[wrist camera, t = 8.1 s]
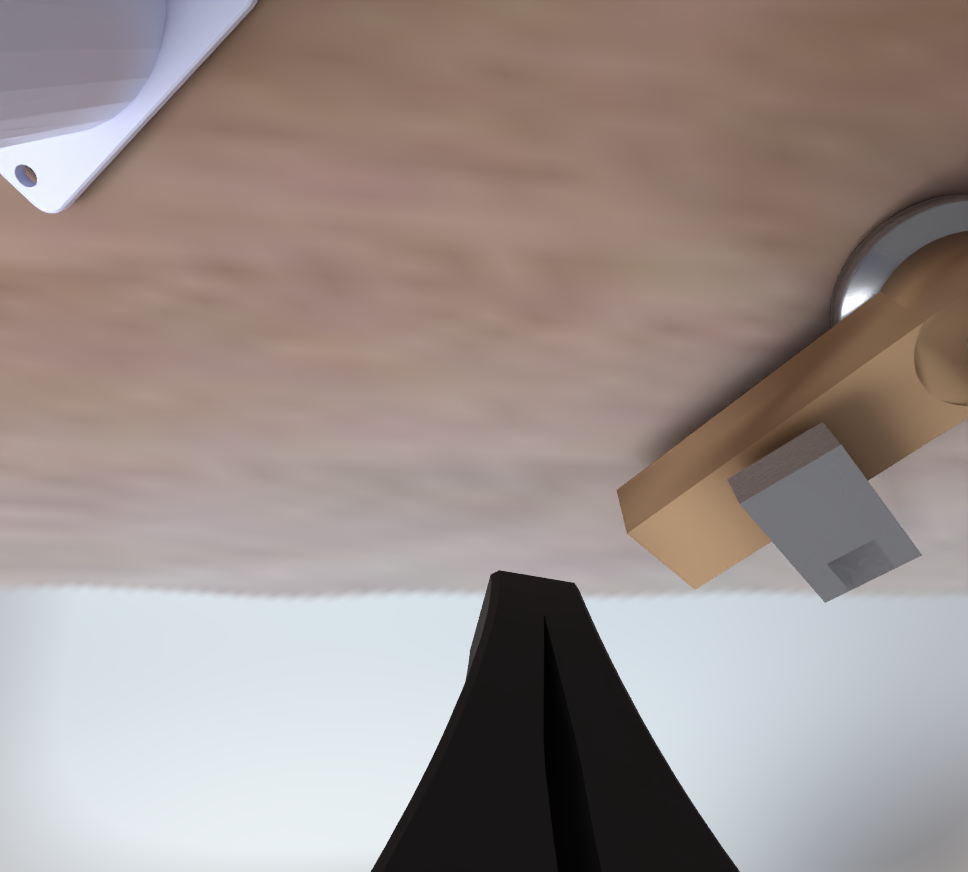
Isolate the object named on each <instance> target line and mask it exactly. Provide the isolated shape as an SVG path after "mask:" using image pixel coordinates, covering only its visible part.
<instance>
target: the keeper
mask: <svg viewBox="0 0 968 872" xmlns="http://www.w3.org/2000/svg"><path fill="white" fill-rule="evenodd" d="M727 480H728V482H729V484H730V486H731V488H732V490H733V492H734V494H735V496H736V498H737V500H738V502H739V504H740V505H741V506H742V507H743V509H744V510H745V511H746V512H747V513H748V514H749V516H750V517H751V518H752V519H753V520H754V521H755V522H756V524H757V525H758V526H759V527H760V528H761V529H762V530H763V532H764V533H765V534H766V535H767V536H768V537H769V539H770V540H771V541H772V542H773V543H774V544H775V545H776V547H777V548H778V549H779V550H780V551H781V552H782V554H783V555H784V556H785V557H786V558H787V559H788V560H789V562H790V563H791V564H792V565H793V566H794V567H795V568H796V570H797V571H798V572H799V573H800V574H801V575H802V577H803V578H804V579H805V580H806V581H807V582H808V583H809V585H810V586H811V587H812V588H813V589H814V590H815V592H816V593H817V594H818V595H819V596H820V597H821V598H822V599H823V601H824V602H825V603H826V602H827V601H830V600H832V599H834V598H836V597H838V596H840V595H842V594H844V593H846V592H848V591H850V590H852V589H854V588H856V587H858V586H860V585H862V584H864V583H866V582H868V581H870V580H873V579H875V578H877V577H879V576H881V575H883V574H885V573H887V572H889V571H891V570H893V569H895V568H897V567H899V566H901V565H903V564H905V563H907V562H909V561H911V560H913V559H915V558H917V557H919V556H921V555H922V554H921V553H920V552H919V550H918V549H917V548H916V546H915V545H914V544H913V542H912V541H911V539H910V538H909V537H908V535H907V534H906V533H905V531H904V530H903V528H902V527H901V526H900V524H899V523H898V522H897V520H896V519H895V518H894V516H893V515H892V513H891V512H890V511H889V509H888V508H887V507H886V505H885V504H884V502H883V501H882V500H881V498H880V497H879V496H878V494H877V493H876V492H875V490H874V489H873V487H872V486H871V485H870V483H869V482H868V481H867V479H866V478H865V476H864V475H863V474H862V472H861V471H860V470H859V468H858V467H857V466H856V464H855V463H854V461H853V460H852V459H851V457H850V456H849V455H848V453H847V452H846V450H845V449H844V448H843V446H842V445H841V444H840V443H839V441H838V440H837V439H836V438H835V436H834V435H833V434H832V433H831V432H830V430H829V429H828V428H827V427H826V426H825V424H824V423H823V422H821V423H819V424H818V425H816V426H814V427H813V428H811V429H809V430H808V431H806V432H804V433H803V434H801V435H799V436H798V437H796V438H794V439H793V440H791V441H789V442H788V443H786V444H784V445H783V446H781V447H780V448H778V449H776V450H775V451H773V452H771V453H770V454H768V455H766V456H765V457H763V458H761V459H760V460H758V461H756V462H755V463H753V464H751V465H750V466H748V467H747V468H745V469H743V470H742V471H740V472H738V473H737V474H735V475H733V476H732V477H730V478H728V479H727Z"/></svg>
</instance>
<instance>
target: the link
mask: <svg viewBox="0 0 968 872" xmlns="http://www.w3.org/2000/svg"><path fill="white" fill-rule="evenodd" d="M966 418H968V231H963V232H958V233H953V234H950V235H947V236H944V237H941V238H939V239H937V240H934V241H932V242H930V243H929V244H927V245H925V246H923V247H921V248H920V249H919V250H917V251H916V252H914V253H913V254H911V255H910V256H909V257H908V258H907V259H905V260H904V261H903V262H902V263H901V264H900V265H899V266H898V267H897V268H896V269H895V270H894V272H893V273H892V274H891V275H890V276H889V278H888V279H887V281H886V282H885V284H884V285H883V287H882V289H881V291H880V292H879V293H877V294H876V295H875V296H873V297H872V298H871V299H869V300H868V301H867V302H865V303H864V304H863V305H861V306H860V307H859V308H857V309H856V310H855V311H854V312H852V313H851V314H850V315H848V316H847V317H846V318H844V319H843V320H842V321H840V322H839V323H838V324H836V325H835V326H834V327H832V328H831V329H830V330H828V331H827V332H826V333H824V334H823V335H822V336H820V337H819V338H818V339H816V340H815V341H814V342H812V343H811V344H810V345H808V346H807V347H806V348H804V349H803V350H802V351H801V352H799V353H798V354H797V355H795V356H794V357H793V358H791V359H790V360H789V361H787V362H786V363H785V364H783V365H782V366H781V367H779V368H778V369H777V370H775V371H774V372H773V373H771V374H770V375H769V376H767V377H766V378H765V379H763V380H762V381H761V382H759V383H758V384H757V385H755V386H754V387H753V388H751V389H750V390H749V391H747V392H746V393H745V394H744V395H742V396H741V397H740V398H738V399H737V400H736V401H734V402H733V403H732V404H730V405H729V406H728V407H726V408H725V409H724V410H722V411H721V412H720V413H718V414H717V415H716V416H714V417H713V418H712V419H710V420H709V421H708V422H706V423H705V424H704V425H702V426H701V427H700V428H698V429H697V430H696V431H694V432H693V433H692V434H691V435H689V436H688V437H687V438H685V439H684V440H683V441H681V442H680V443H679V444H677V445H676V446H675V447H673V448H672V449H671V450H669V451H668V452H667V453H665V454H664V455H663V456H661V457H660V458H659V459H657V460H656V461H655V462H653V463H652V464H651V465H649V466H648V467H647V468H645V469H644V470H643V471H641V472H640V473H639V474H637V475H636V476H635V477H634V478H632V479H631V480H630V481H628V482H627V483H626V484H624V485H623V486H622V487H620V488H619V489H618V490H617V493H618V497H619V502H620V506H621V510H622V514H623V518H624V523H625V527H626V531H627V534H628V535H629V536H631V537H632V538H633V539H634V540H636V541H637V542H638V543H639V544H640V545H642V546H643V547H644V548H645V549H646V550H648V551H649V552H650V553H651V554H652V555H654V556H655V557H656V558H657V559H658V560H660V561H661V562H662V563H663V564H665V565H666V566H667V567H668V568H669V569H671V570H672V571H673V572H674V573H675V574H677V575H678V576H679V577H680V578H681V579H683V580H684V581H685V582H686V583H687V584H689V585H690V586H691V587H692V588H694V589H697V588H699V587H700V586H702V585H703V584H705V583H706V582H708V581H710V580H711V579H713V578H714V577H716V576H718V575H719V574H721V573H722V572H724V571H725V570H727V569H729V568H730V567H732V566H733V565H735V564H737V563H738V562H740V561H741V560H743V559H744V558H746V557H748V556H749V555H751V554H752V553H754V552H756V551H757V550H759V549H760V548H762V547H763V546H765V545H767V544H768V543H770V542H771V540H770V539H769V537H768V536H767V535H766V534H765V533H764V532H763V530H762V529H761V528H760V527H759V526H758V525H757V524H756V522H755V521H754V520H753V519H752V518H751V517H750V516H749V514H748V513H747V512H746V511H745V510H744V509H743V507H742V506H741V505H740V504H739V502H738V500H737V498H736V496H735V494H734V492H733V490H732V488H731V486H730V484H729V482H728V480H727V479H728V478H730V477H732V476H733V475H735V474H737V473H738V472H740V471H742V470H743V469H745V468H747V467H748V466H750V465H751V464H753V463H755V462H756V461H758V460H760V459H761V458H763V457H765V456H766V455H768V454H770V453H771V452H773V451H775V450H776V449H778V448H780V447H781V446H783V445H784V444H786V443H788V442H789V441H791V440H793V439H794V438H796V437H798V436H799V435H801V434H803V433H804V432H806V431H808V430H809V429H811V428H813V427H814V426H816V425H818V424H819V423H821V422H823V423H824V424H825V426H826V427H827V428H828V429H829V430H830V432H831V433H832V434H833V435H834V436H835V438H836V439H837V440H838V441H839V443H840V444H841V445H842V446H843V448H844V449H845V450H846V452H847V453H848V455H849V456H850V457H851V459H852V460H853V461H854V463H855V464H856V466H857V467H858V468H859V470H860V471H861V472H862V474H863V475H864V476H865V478H866V479H867V481H868V480H869V479H871V478H873V477H874V476H876V475H877V474H879V473H881V472H882V471H884V470H885V469H887V468H888V467H890V466H892V465H893V464H895V463H896V462H898V461H900V460H901V459H903V458H904V457H906V456H907V455H909V454H911V453H912V452H914V451H915V450H917V449H919V448H920V447H922V446H923V445H925V444H926V443H928V442H930V441H931V440H933V439H934V438H936V437H938V436H939V435H941V434H942V433H944V432H945V431H947V430H949V429H950V428H952V427H953V426H955V425H956V424H958V423H960V422H961V421H963V420H964V419H966Z"/></svg>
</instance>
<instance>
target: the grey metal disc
mask: <svg viewBox="0 0 968 872" xmlns="http://www.w3.org/2000/svg"><path fill="white" fill-rule="evenodd" d="M963 231H968V195H949V196H943V197H938V198H933V199H930V200H927V201H923V202H920V203H918V204H916V205H913V206H911V207H908V208H906V209H905V210H903V211H901V212H899V213H897V214H895V215H894V216H892V217H891V218H889V219H888V220H886V221H885V222H883V223H882V224H881V225H879V226H878V227H877V228H876V229H875V230H873V231H872V232H871V233H870V234H869V235H868V236H867V237H866V238H865V239H864V240H863V241H862V242H861V243H860V244H859V245H858V247H857V248H856V249H855V250H854V252H853V253H852V254H851V255H850V257H849V259H848V260H847V262H846V263H845V265H844V266H843V268H842V270H841V272H840V274H839V276H838V278H837V281H836V284H835V286H834V289H833V293H832V298H831V304H830V323H831V327H834V326H835V325H836V324H838V323H839V322H840V321H842V320H843V319H844V318H846V317H847V316H848V315H850V314H851V313H852V312H854V311H855V310H856V309H857V308H859V307H860V306H861V305H863V304H864V303H865V302H867V301H868V300H869V299H871V298H872V297H873V296H875V295H876V294H877V293H879V292H880V291H881V289H882V287H883V285H884V284H885V282H886V281H887V279H888V278H889V276H890V275H891V274H892V273H893V272H894V270H895V269H896V268H897V267H898V266H899V265H900V264H901V263H902V262H903V261H904V260H905V259H907V258H908V257H909V256H910V255H911V254H913V253H914V252H916V251H917V250H919V249H920V248H921V247H923V246H925V245H927V244H929V243H930V242H932V241H934V240H937V239H939V238H941V237H944V236H947V235H950V234H953V233H958V232H963Z"/></svg>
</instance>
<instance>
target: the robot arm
mask: <svg viewBox="0 0 968 872" xmlns="http://www.w3.org/2000/svg"><path fill="white" fill-rule="evenodd" d="M257 1H258V0H0V174H1V175H2V176H3V177H4V178H6V179H7V180H8V181H9V182H10V183H11V184H12V185H13V186H14V187H15V188H16V189H17V190H18V191H19V192H20V193H21V194H22V195H24V196H25V197H26V198H27V199H28V200H29V201H30V202H31V203H32V204H33V205H34V206H36V207H37V208H38V209H40V210H41V211H44V212H47V213H58V212H61V211H63V210H65V209H67V208H69V207H70V206H71V205H72V204H73V203H74V202H75V200H76V199H77V198H78V197H79V196H80V195H81V194H82V193H83V192H84V191H85V190H86V189H87V187H88V186H89V185H90V184H91V183H92V182H93V181H94V180H95V179H96V178H97V177H98V176H99V174H100V173H101V172H102V171H103V170H104V169H105V168H106V167H107V166H108V165H109V164H110V163H111V162H112V160H113V159H114V158H115V157H116V156H117V155H118V154H119V153H120V152H121V151H122V150H123V149H124V147H125V146H126V145H127V144H128V143H129V142H130V141H131V140H132V139H133V138H134V137H135V136H136V134H137V133H138V132H139V131H140V130H141V129H142V128H143V127H144V126H145V125H146V124H147V123H148V121H149V120H150V119H151V118H152V117H153V116H154V115H155V114H156V113H157V112H158V111H159V110H160V109H161V107H162V106H163V105H164V104H165V103H166V102H167V101H168V100H169V99H170V98H171V97H172V96H173V94H174V93H175V92H176V91H177V90H178V89H179V88H180V87H181V86H182V85H183V84H184V83H185V81H186V80H187V79H188V78H189V77H190V76H191V75H192V74H193V73H194V72H195V71H196V70H197V68H198V67H199V66H200V65H201V64H202V63H203V62H204V61H205V60H206V59H207V58H208V57H209V56H210V54H211V53H212V52H213V51H214V50H215V49H216V48H217V47H218V46H219V45H220V44H221V43H222V41H223V40H224V39H225V38H226V37H227V36H228V35H229V34H230V33H231V32H232V31H233V30H234V28H235V27H236V26H237V25H238V24H239V23H240V22H241V21H242V20H243V19H244V18H245V17H246V15H247V14H248V13H249V12H250V11H251V10H252V9H253V8H254V6H255V5H256V3H257ZM26 165H27V166H28V167H30V168H31V169H33V171H34V172H35V174H36V176H37V183H34V182H32V181H31V180H30V179H29V178H28V176H27V175H26V171H25V167H26ZM371 872H740V871H739V870H738V868H737V867H736V866H735V864H734V863H733V861H732V860H731V859H730V857H729V856H728V854H727V853H726V852H725V850H724V849H723V848H722V846H721V845H720V843H719V842H718V840H717V839H716V837H715V836H714V834H713V833H712V832H711V830H710V829H709V828H708V826H707V824H706V823H705V821H704V820H703V818H702V817H701V815H700V814H699V813H698V811H697V809H696V808H695V806H694V805H693V803H692V802H691V800H690V799H689V797H688V795H687V794H686V792H685V791H684V789H683V788H682V786H681V784H680V783H679V781H678V780H677V778H676V776H675V775H674V773H673V772H672V770H671V768H670V766H669V765H668V763H667V762H666V760H665V758H664V756H663V755H662V753H661V751H660V750H659V748H658V746H657V745H656V743H655V741H654V740H653V738H652V736H651V734H650V733H649V731H648V729H647V727H646V726H645V724H644V722H643V720H642V718H641V717H640V715H639V713H638V711H637V709H636V707H635V705H634V703H633V701H632V700H631V698H630V696H629V694H628V692H627V690H626V688H625V687H624V685H623V683H622V681H621V679H620V677H619V675H618V673H617V671H616V669H615V667H614V665H613V663H612V661H611V659H610V657H609V655H608V653H607V651H606V649H605V647H604V644H603V642H602V640H601V639H600V636H599V634H598V632H597V630H596V628H595V625H594V623H593V621H592V619H591V616H590V614H589V612H588V610H587V608H586V605H585V603H584V600H583V598H582V596H581V593H580V591H579V589H578V588H577V586H576V585H575V583H571V582H565V581H559V580H554V579H548V578H542V577H536V576H530V575H524V574H518V573H512V572H506V571H500V570H499V571H497V572H495V573H493V574H491V576H490V579H489V583H488V587H487V590H486V594H485V598H484V601H483V605H482V609H481V612H480V616H479V620H478V624H477V627H476V631H475V635H474V638H473V642H472V646H471V649H470V656H469V665H468V671H467V676H466V682H465V684H464V687H463V690H462V692H461V694H460V696H459V699H458V701H457V704H456V706H455V708H454V710H453V713H452V715H451V718H450V720H449V722H448V724H447V727H446V729H445V731H444V734H443V736H442V738H441V740H440V742H439V745H438V746H437V749H436V751H435V753H434V755H433V757H432V759H431V761H430V763H429V765H428V767H427V769H426V771H425V773H424V775H423V777H422V779H421V781H420V783H419V785H418V787H417V789H416V791H415V793H414V795H413V797H412V799H411V800H410V802H409V804H408V806H407V808H406V810H405V811H404V813H403V815H402V817H401V819H400V821H399V822H398V824H397V826H396V828H395V830H394V831H393V833H392V835H391V837H390V839H389V841H388V842H387V844H386V846H385V848H384V850H383V851H382V853H381V855H380V857H379V858H378V860H377V862H376V864H375V865H374V867H373V869H372V870H371Z"/></svg>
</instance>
